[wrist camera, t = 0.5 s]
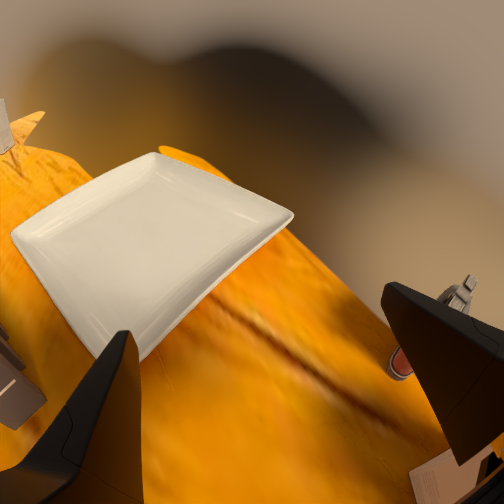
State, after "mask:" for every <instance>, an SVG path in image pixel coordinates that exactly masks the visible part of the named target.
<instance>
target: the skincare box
mask: <svg viewBox="0 0 504 504" xmlns="http://www.w3.org/2000/svg"><path fill="white" fill-rule="evenodd" d="M13 146H14V140H13V137H12V133H11V129H10V125H9V121H8V117H7V113H6V108H5V103H4V98H2V99H0V154H4V153H5V152H6V151H7V150H9V149H10V148H11V147H13Z"/></svg>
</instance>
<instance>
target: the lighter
mask: <svg viewBox="0 0 504 504" xmlns="http://www.w3.org/2000/svg"><path fill="white" fill-rule="evenodd" d="M476 284H477V278H476V277H475V276H474V275H473V274H471V275H470V274H469V275H468V276H467V277H466V279H465V280H464V282H463V283H462V285H461V286H460V285H452V286H451V287H449V288H448V289H447V290H445V291H444V292H443V293H442V295H440V296H439V298H438V299H437V301H439V302H441V303H444V304H446V305H448V306H450V307H452V308H454V309H456V310H458V311H460V312H463V313H465V314H468V312H469V308H470V303H471V299H472V296H471V293H472V292H473V290H474V288H475V286H476ZM386 368H387V372H388V374H389V375H390V377H392V378H393V379H394V380H397V381H403V380H405V379H406V378H407V377H409V376H410V375H411V374H413V373H414V371H413V369H412V367H411V366H410V364H409V362H408V360H407V358H406V356H405V355H404V353H403V351H402V349H401V347H400V346H398V347H397V348H396V350H395V351H394V352H393V354H392V356H391V357H390V359H389V361H388V362H387V365H386Z"/></svg>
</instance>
